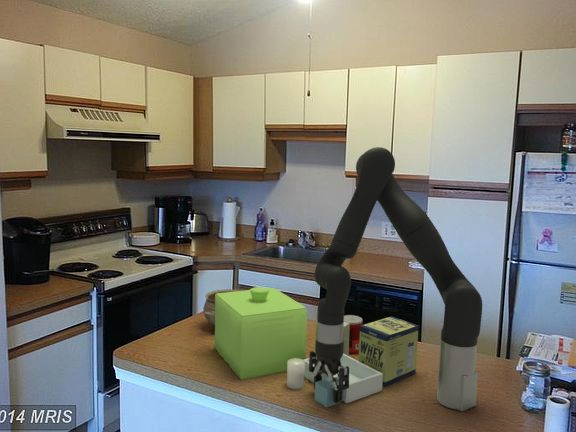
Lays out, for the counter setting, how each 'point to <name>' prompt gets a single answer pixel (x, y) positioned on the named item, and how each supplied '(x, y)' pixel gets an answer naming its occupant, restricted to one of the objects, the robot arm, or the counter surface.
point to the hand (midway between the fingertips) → (327, 395)
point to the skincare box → (346, 338)
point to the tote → (354, 379)
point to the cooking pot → (213, 304)
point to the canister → (259, 331)
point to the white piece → (295, 373)
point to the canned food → (354, 332)
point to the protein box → (389, 348)
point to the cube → (325, 392)
